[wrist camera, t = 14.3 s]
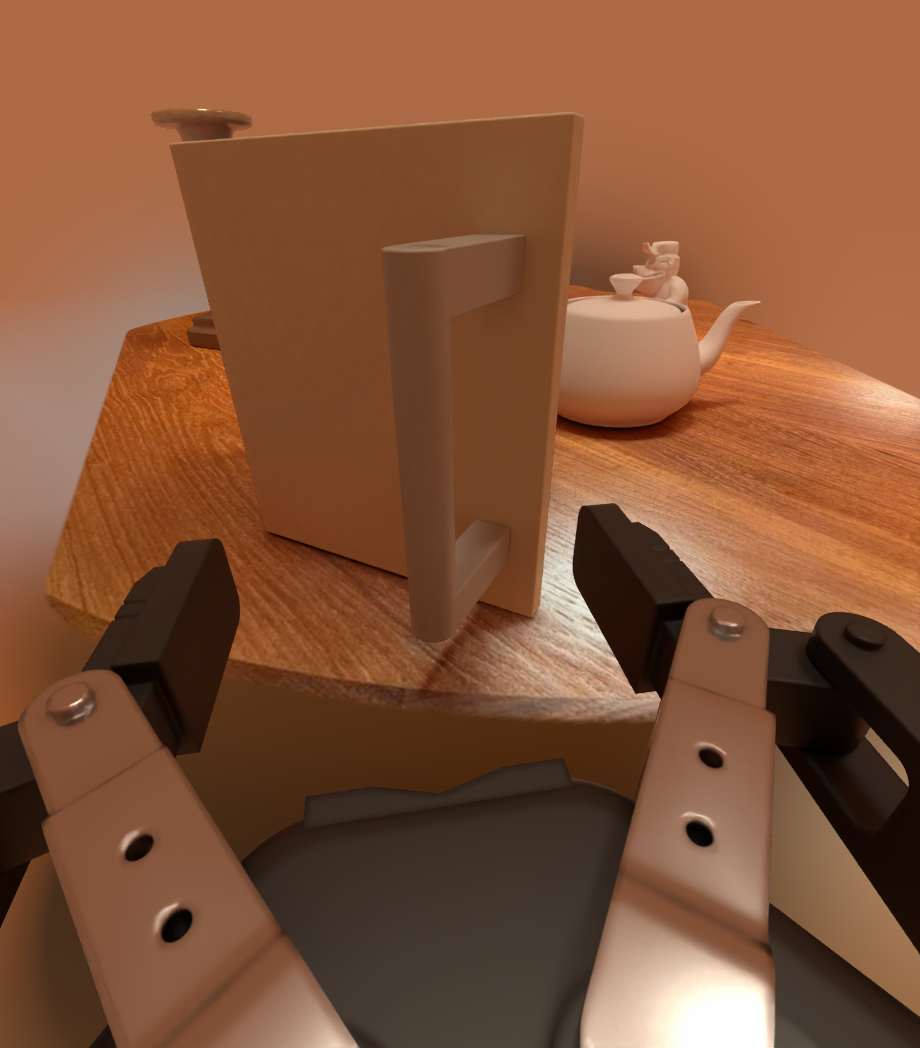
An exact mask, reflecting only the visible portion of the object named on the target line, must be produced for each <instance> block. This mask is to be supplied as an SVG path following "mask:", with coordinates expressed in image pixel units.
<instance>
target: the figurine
mask: <svg viewBox="0 0 920 1048" xmlns="http://www.w3.org/2000/svg"><path fill="white" fill-rule="evenodd" d="M642 249H643V251H644V252H645V253H647V254H650V255H649V256H648V260H647V262H646V265H645V266H644V265H643V266H637V265H635V266H633V271H634V273H633V274H635V275H638V276H641V277H642V279H643V280H642V282H641V283H640V284H639V285H638V286H637V287H636V288H635V289H636V290H637V291H639V292H642V293H644V297H648V298H656V299H663V300H668V301H673V302H677V303H680V304H682V305H685V306H686V307H687V308H688V305H687V299H688V293H689V292H688V288H687V285H686V283H685V282H684V280H682V279H681V278H679V277H678V276H677V275H676V274H677V271H678V270H679V263H680V262H679V260H680V257H679V256H678V255H677V254H678V249H679V243H678V242H675V241H664V242H663V241H662V242H654V243H653V244H652V247H650V245H649V243H648V242H645V243H644V244H643V246H642Z"/></svg>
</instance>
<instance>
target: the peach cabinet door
mask: <svg viewBox="0 0 920 1048" xmlns="http://www.w3.org/2000/svg"><path fill="white" fill-rule="evenodd" d="M583 128H584V116H582V115H580V114H577V113H575V112H561V113H550V114H536V115H525V116H524V115H523V116H510V117H497V118H485V119H472V120H459V121H446V122H435V123H434V122H433V123H421V124H409V125H396V126H382V127H369V128H357V129H344V130H331V131H319V132H305V133H293V134H280V135H267V136H255V137H241V138H229V139H216V140H203V141H190V142H177V143H171V144H170V149H171V152H172V157H173V160H174V165H175V169H176V173H177V177H178V181H179V185H180V189H181V193H182V197H183V201H184V205H185V209H186V213H187V217H188V221H189V225H190V229H191V233H192V237H193V241H194V245H195V249H196V253H197V257H198V261H199V265H200V269H201V273H202V278H203V282H204V286H205V289H206V293H207V297H208V302H209V306H210V310H211V314H212V318H213V322H214V326H215V330H216V334H217V338H218V342H219V346H220V350H221V354H222V358H223V362H224V366H225V370H226V374H227V378H228V382H229V386H230V390H231V394H232V398H233V402H234V406H235V410H236V414H237V418H238V422H239V426H240V430H241V434H242V439H243V443H244V447H245V451H246V455H247V459H248V463H249V467H250V471H251V475H252V479H253V483H254V487H255V491H256V495H257V499H258V503H259V507H260V511H261V515H262V519H263V523H264V527H265V530H266V531H268V532H271V533H274V534H277V535H280V536H284V537H287V538H290V539H293V540H296V541H299V542H302V543H305V544H308V545H311V546H314V547H317V548H320V549H323V550H326V551H329V552H332V553H335V554H339V555H342V556H345V557H348V558H351V559H354V560H357V561H360V562H363V563H366V564H369V565H372V566H375V567H378V568H381V569H384V570H387V571H390V572H393V573H397V574H400V575H403V576H406V577H408V589H409V601H410V613H411V626H412V631H413V633H414V635H415V636H416V637H417V638H418V639H420V640H422V641H425V642H430V643H436V642H441V641H444V640H447V639H448V638H450V637H451V636H452V635H453V634H454V632H455V631H456V629H457V628H458V627H459V625H460V624H461V623H462V621H463V620H464V619H465V617H466V616H467V615H468V613H469V612H470V611H471V609H472V608H473V607H474V605H475V604H476V603H477V601H478V600H479V601H482V602H485V603H488V604H491V605H494V606H497V607H500V608H503V609H506V610H510V611H513V612H516V613H519V614H522V615H525V616H528V617H533V616H534V614H535V612H536V611H537V609H538V607H539V605H540V597H541V586H542V575H543V564H544V553H545V542H546V531H547V520H548V509H549V498H550V488H551V477H552V466H553V455H554V444H555V433H556V422H557V411H558V400H559V390H560V379H561V368H562V357H563V346H564V335H565V324H566V313H567V302H568V291H569V281H570V269H571V259H572V246H573V237H574V226H575V215H576V204H577V193H578V183H579V171H580V161H581V149H582V139H583Z"/></svg>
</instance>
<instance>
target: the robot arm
mask: <svg viewBox="0 0 920 1048" xmlns="http://www.w3.org/2000/svg"><path fill="white" fill-rule="evenodd" d="M679 559H680V558H679V557H678V556H677V555H676V554H675V552H674V551H673V550H670V547H669V546H668V544H667V543H666V542H665V541H664V540H663V539H662V538H661V537H660V535H659V534H658V533H656V532H655V531H653V530H651V529H650V528H648V527H646V526H645V525H643V524H641V523H639V522H634V523H632V522H631V521H630V520H629V519H628V518H627V516H626V515H625V514H624V513H623V512H622V510H621V509H620V508H619V507H618V506H617V505H616V504H614V503H611V504H600V505H589V506H582V507H581V509H580V511H579V515H578V522H577V530H576V538H575V546H574V554H573V575H574V579H575V583H576V585H577V588H578V589H579V591H580V593H581V595H582V597H583V599H584V600H585V602H586V604H587V606H588V608H589V610H590V611H591V613H592V615H593V617H594V619H595V621H596V622H597V624H598V626H599V628H600V630H601V632H602V633H603V635H604V637H605V639H606V641H607V643H608V644H609V646H610V648H611V650H612V652H613V654H614V655H615V657H616V659H617V661H618V663H619V664H620V666H621V668H622V670H623V672H624V674H625V675H626V677H627V679H628V681H629V683H630V685H631V686H632V688H633V690H634V692H635V694H638V693H645V692H653V691H656V692H657V693H658V695H659V697H660V699H661V701H660V705H659V708H658V712H657V716H656V719H655V723H654V727H653V731H652V735H651V738H650V742H649V746H648V750H647V753H646V757H645V761H644V765H643V768H642V772H641V776H640V779H639V783H638V787H637V790H636V794H635V798H634V800H632V799H631V798H629V797H627V796H626V795H624V794H622V793H620V792H617V791H615V790H613V789H611V788H609V787H606V786H603V785H600V784H597V783H594V782H590V781H586V780H581V779H575V778H570V775H569V773H568V770H567V767H566V764H565V761H564V758H560V759H553V760H547V761H540V762H533V763H526V764H521V765H514V766H507V767H502V768H500V769H497V770H495V771H493V772H490V773H488V774H486V775H484V776H481V777H478V778H476V779H474V780H471V781H469V782H467V783H464V784H462V785H460V786H457V787H455V788H453V789H451V790H448V791H445V792H441V793H430V792H420V791H409V790H398V789H389V788H379V787H367V788H361V789H354V790H348V791H341V792H334V793H328V794H321V795H315V796H308V797H306V802H305V812H304V819H303V820H301V821H299V822H296V823H294V824H292V825H290V826H289V827H287V828H285V829H283V830H281V831H279V832H278V833H276V834H275V835H273V836H272V837H271V838H269V839H268V840H266V841H265V842H263V843H262V844H261V845H259V846H258V847H257V848H256V849H255V850H254V851H252V852H251V853H250V854H249V855H248V856H247V857H246V858H245V859H244V860H243V861H242V862H241V863H240V862H239V860H238V859H237V857H236V856H235V854H234V852H233V851H232V849H231V848H230V846H229V844H228V843H227V841H226V840H225V838H224V836H223V835H222V833H221V832H220V830H219V829H218V827H217V825H216V824H215V822H214V821H213V819H212V818H211V816H210V814H209V813H208V811H207V810H206V808H205V806H204V805H203V803H202V801H201V800H200V798H199V797H198V795H197V793H196V792H195V790H194V789H193V787H192V785H191V784H190V782H189V781H188V779H187V778H186V776H185V775H184V773H183V771H182V770H181V768H180V766H179V765H178V763H177V762H176V760H175V757H176V755H182V754H190V753H198V752H200V750H201V746H202V743H203V740H204V736H205V733H206V730H207V726H208V723H209V720H210V717H211V713H212V710H213V706H214V703H215V700H216V696H217V693H218V690H219V686H220V683H221V680H222V677H223V673H224V670H225V667H226V663H227V660H228V657H229V653H230V650H231V647H232V644H233V640H234V637H235V634H236V630H237V627H238V623H239V618H240V603H239V597H238V593H237V590H236V586H235V583H234V580H233V576H232V573H231V570H230V567H229V563H228V560H227V557H226V554H225V550H224V547H223V545H222V543H221V541H220V540H219V539H216V538H215V539H204V540H193V541H182V542H179V543H178V544H177V545H176V547H175V549H174V551H173V553H172V554H171V556H170V558H169V560H168V562H167V564H166V565H165V566H164V567H154V568H153V569H152V570H151V571H150V572H148V573H147V574H146V575H145V576H143V577H142V578H141V579H140V580H139V581H137V582H136V583H135V584H134V586H133V587H132V589H131V590H130V592H129V594H128V595H127V597H126V599H125V600H124V605H121V607H120V609H119V610H118V612H117V614H116V615H115V620H113V621H112V622H111V624H110V625H109V627H108V629H107V630H106V632H105V634H104V635H103V637H102V638H101V640H100V642H99V643H98V645H97V647H96V648H95V650H94V652H93V653H92V655H91V657H90V658H89V660H88V662H87V663H86V665H85V667H84V668H83V670H82V672H80V673H77V674H74V675H71V676H68V677H66V678H64V679H61V680H60V681H58V682H56V683H54V684H52V685H51V686H49V687H48V688H46V689H45V690H43V691H42V692H41V693H39V694H38V695H37V696H36V697H35V698H34V699H33V700H32V701H31V702H30V703H29V704H28V705H27V706H26V708H25V709H24V711H23V712H22V714H21V716H20V719H19V721H16V722H14V723H10V724H7V725H5V726H1V727H0V927H1V925H2V923H3V921H4V918H5V916H6V914H7V912H8V909H9V907H10V905H11V903H12V901H13V898H14V896H15V894H16V892H17V890H18V887H19V885H20V883H21V881H22V879H23V876H24V874H25V872H26V870H27V867H28V865H29V863H30V860H32V859H34V858H36V857H39V856H41V855H43V854H46V853H48V852H50V854H51V857H52V860H53V863H54V866H55V868H56V871H57V874H58V877H59V880H60V883H61V886H62V889H63V892H64V895H65V898H66V901H67V904H68V907H69V909H70V912H71V915H72V918H73V921H74V924H75V927H76V930H77V933H78V935H79V939H80V942H81V945H82V947H83V950H84V953H85V956H86V959H87V962H88V965H89V968H90V971H91V974H92V976H93V980H94V983H95V985H96V988H97V991H98V994H99V997H100V1000H101V1003H102V1006H103V1009H104V1012H105V1015H106V1018H107V1021H108V1023H109V1024H108V1025H107V1026H106V1027H105V1029H104V1030H103V1031H102V1032H101V1034H100V1035H99V1036H98V1037H97V1039H96V1040H95V1041H94V1042H93V1043H92V1045H91V1046H90V1047H89V1048H920V1017H919V1016H918V1015H917V1014H915V1013H914V1012H912V1011H911V1010H910V1009H908V1008H907V1007H906V1006H905V1005H903V1004H902V1003H901V1002H899V1001H898V1000H897V999H895V998H894V997H893V996H892V995H890V994H889V993H888V992H886V991H885V990H884V989H882V988H881V987H880V986H878V985H877V984H876V983H874V982H873V981H872V980H871V979H869V978H868V977H867V976H865V975H864V974H862V973H861V972H860V971H859V970H857V969H856V968H855V967H853V966H852V965H851V964H849V963H848V962H847V961H846V960H844V959H843V958H842V957H840V956H839V955H838V954H836V953H835V952H834V951H832V950H831V949H830V948H828V947H827V946H826V945H824V944H823V943H822V942H821V941H819V940H818V939H817V938H815V937H814V936H813V935H811V934H810V933H809V932H807V931H806V930H805V929H803V928H802V927H801V926H800V925H798V924H797V923H796V922H794V921H793V920H792V919H790V918H789V917H788V916H786V915H785V914H784V913H782V912H781V911H780V910H779V909H777V908H776V907H775V906H773V905H772V904H771V903H769V889H770V888H769V887H770V862H771V861H770V860H771V836H772V809H773V782H774V757H775V744H776V745H777V746H778V748H779V749H780V750H781V752H782V753H783V755H784V756H785V758H786V759H787V761H788V762H789V764H790V765H791V767H792V768H793V769H794V771H795V772H796V774H797V775H798V777H799V778H800V780H801V781H802V783H803V784H804V786H805V787H806V789H807V790H808V791H809V793H810V794H811V796H812V797H813V799H814V800H815V802H816V803H817V805H818V806H819V807H820V809H821V810H822V812H823V813H824V815H825V816H826V818H827V819H828V821H829V822H830V824H831V825H832V827H833V828H834V829H835V831H836V832H837V834H838V835H839V837H840V838H841V840H842V841H843V843H844V844H845V845H846V847H847V848H848V850H849V851H850V853H851V854H852V856H853V857H854V859H855V860H856V862H857V863H858V865H859V866H860V867H861V869H862V870H863V872H864V873H865V875H866V876H867V878H868V879H869V881H870V882H871V883H872V885H873V886H874V888H875V889H876V891H877V892H878V894H879V895H880V897H881V898H882V900H883V901H884V903H885V904H886V905H887V907H888V908H889V910H890V911H891V913H892V914H893V916H894V917H895V919H896V920H897V921H898V923H899V925H900V926H901V927H902V929H903V930H904V932H905V933H906V935H907V936H908V938H909V939H910V940H911V942H912V943H913V945H914V946H915V948H916V949H917V950H918V952H919V954H920V653H919V652H918V651H917V650H916V649H914V648H913V647H912V646H911V645H910V644H909V643H908V642H906V641H905V640H904V639H903V638H902V637H901V636H900V635H898V634H897V633H896V632H895V631H893V630H892V629H890V628H888V627H887V626H885V625H883V624H881V623H879V622H877V621H875V620H873V619H870V618H867V617H864V616H861V615H857V614H852V613H845V612H833V613H828V614H825V615H823V616H821V617H820V618H819V619H818V620H817V622H816V625H815V627H814V629H813V631H812V633H808V632H799V631H791V630H782V629H774V628H768V626H767V625H766V623H765V622H764V621H763V619H762V618H761V617H760V616H758V615H757V614H756V613H755V612H753V611H752V610H750V609H749V608H747V607H745V606H743V605H740V604H738V603H735V602H732V601H729V600H724V599H718V598H714V597H713V596H712V595H711V594H710V592H709V591H708V590H707V589H706V588H705V587H704V586H703V584H702V583H701V582H700V581H699V580H698V579H697V578H696V576H695V575H694V574H693V573H692V572H691V571H690V570H689V568H688V567H687V566H686V565H685V564H684V563H683V562H682V561H680V560H679ZM870 727H871V728H872V729H873V730H874V731H875V732H876V734H877V735H878V736H879V737H880V738H881V739H882V740H883V742H884V743H885V744H886V745H887V746H888V747H889V748H890V749H891V751H892V752H893V753H894V754H895V755H896V756H897V757H898V758H899V760H900V761H901V763H902V765H903V766H904V768H905V770H906V773H907V776H908V780H909V788H908V786H907V785H906V784H905V783H904V782H903V781H902V779H901V778H900V777H899V776H898V775H897V774H896V772H895V771H894V770H893V769H892V768H891V767H890V765H888V763H887V762H886V761H885V760H884V758H883V757H882V756H881V755H880V754H879V753H878V752H877V750H876V749H875V748H874V747H873V746H872V744H871V743H870V742H869V741H868V740H867V739H866V737H865V735H866V733H867V732H868V730H869V728H870Z"/></svg>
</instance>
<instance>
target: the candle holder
mask: <svg viewBox="0 0 920 1048" xmlns="http://www.w3.org/2000/svg"><path fill="white" fill-rule="evenodd" d="M151 115H152V120H153V122H154V123H155V124H156V125H157V126H160V127H163V128H169V129H176V130H177V131H178V132H179V134H180V136H181V139H182V141H183V142H186V141H203V140H216V139H229V138H233V137H232V135H233V132H234V131H237V130H245V129H248V128H250V127H251V126H252V120H251V117H250V116H249V115H246V114H243V113H239V112H232V111H224V110H212V109H168V110H159V111H154V112H153V113H152V114H151ZM192 320H193V327H192V328H190V329H189V330H187V334H188V338H189V342H190V345H193V346H199V347H206V348H214V349H220V346H219V342H218V338H217V334H216V330H215V326H214V322H213V318H212V314H211V311H210V312H209V313H205V314H202V315H198V316H195V317H194V318H193V319H192Z"/></svg>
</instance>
